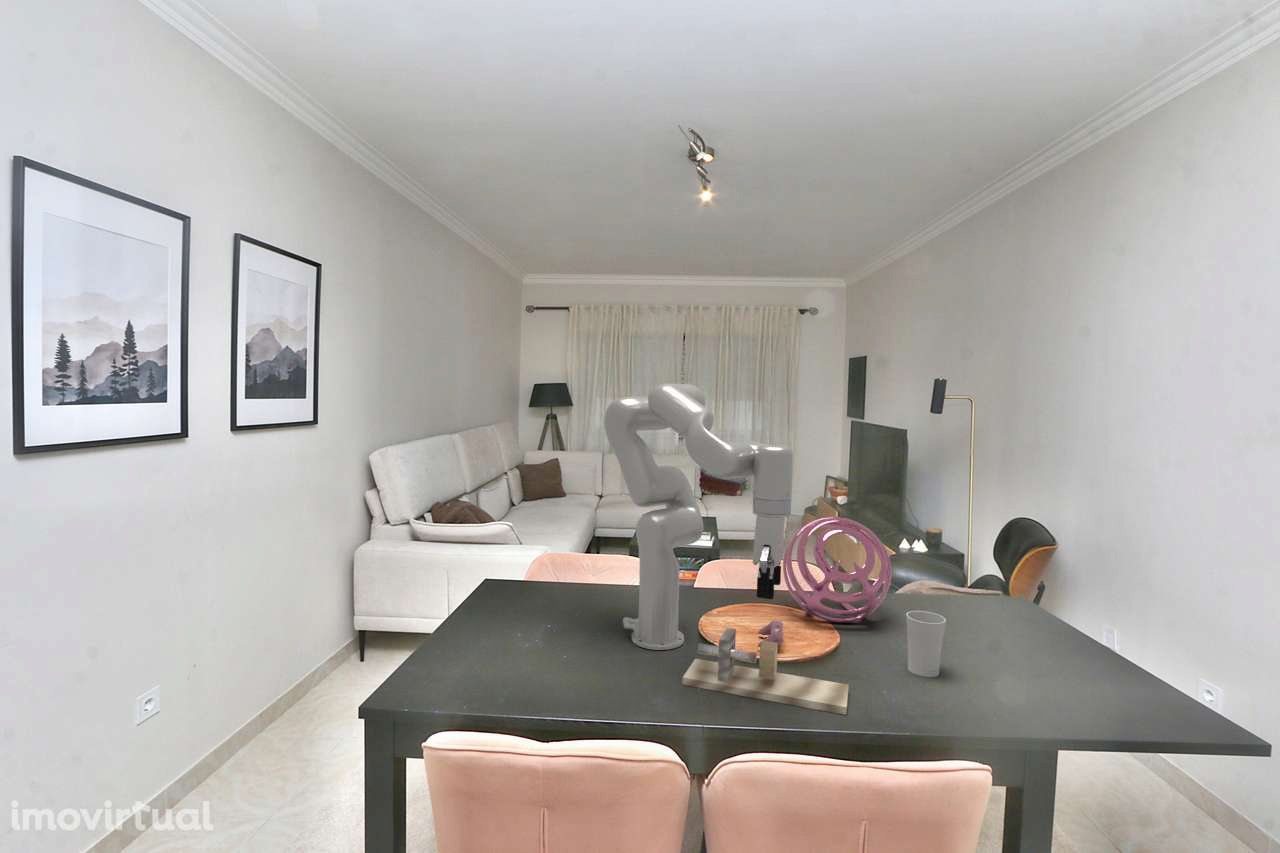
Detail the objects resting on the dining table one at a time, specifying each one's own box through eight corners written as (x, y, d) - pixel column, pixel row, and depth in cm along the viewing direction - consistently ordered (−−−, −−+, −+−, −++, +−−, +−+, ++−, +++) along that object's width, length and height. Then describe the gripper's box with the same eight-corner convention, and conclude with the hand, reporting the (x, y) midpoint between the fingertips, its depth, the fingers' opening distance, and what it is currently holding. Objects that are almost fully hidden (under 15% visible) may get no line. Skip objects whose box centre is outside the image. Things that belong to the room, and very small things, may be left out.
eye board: (682, 684, 131) (683, 636, 131) (695, 665, 141) (696, 620, 140) (846, 715, 120) (848, 663, 120) (848, 691, 130) (850, 643, 129)
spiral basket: (791, 526, 196) (804, 487, 172) (885, 556, 189) (912, 520, 165) (766, 613, 183) (776, 584, 160) (866, 648, 176) (892, 623, 153)
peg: (696, 666, 133) (696, 637, 133) (700, 658, 137) (701, 631, 137) (773, 679, 128) (774, 650, 128) (776, 671, 132) (777, 642, 131)
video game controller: (773, 660, 148) (788, 635, 147) (755, 650, 149) (770, 624, 148) (773, 644, 158) (787, 620, 157) (756, 634, 158) (770, 610, 157)
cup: (941, 666, 143) (943, 613, 142) (945, 681, 136) (948, 625, 135) (902, 660, 146) (905, 608, 145) (904, 675, 138) (907, 620, 138)
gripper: (760, 498, 138) (757, 577, 139) (745, 512, 122) (742, 601, 123) (795, 501, 135) (792, 581, 136) (785, 516, 119) (782, 606, 120)
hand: (768, 590), depth 129 cm, fingers open, 9 cm apart
